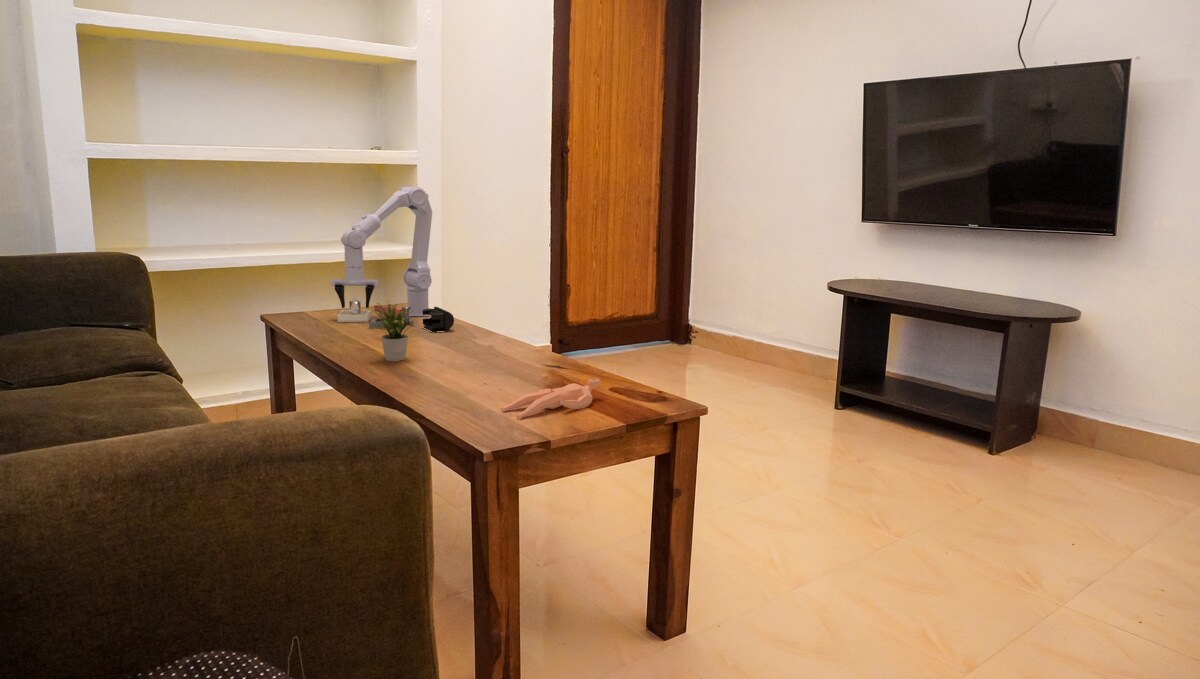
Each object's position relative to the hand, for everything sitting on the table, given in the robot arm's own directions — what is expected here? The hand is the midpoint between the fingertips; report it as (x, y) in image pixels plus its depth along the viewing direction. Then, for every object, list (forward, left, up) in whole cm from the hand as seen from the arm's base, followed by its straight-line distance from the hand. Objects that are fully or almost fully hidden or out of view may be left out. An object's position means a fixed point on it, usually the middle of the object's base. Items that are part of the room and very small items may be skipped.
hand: (355, 307), depth 261 cm
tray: (-1, -1, -4) cm, 5 cm away
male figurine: (+100, +57, -5) cm, 115 cm away
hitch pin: (0, 0, -4) cm, 4 cm away
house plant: (+54, +16, -5) cm, 57 cm away
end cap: (+14, +27, -5) cm, 31 cm away
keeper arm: (+1, +11, -2) cm, 11 cm away
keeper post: (+6, +17, -4) cm, 19 cm away
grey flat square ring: (+9, +10, -4) cm, 14 cm away
